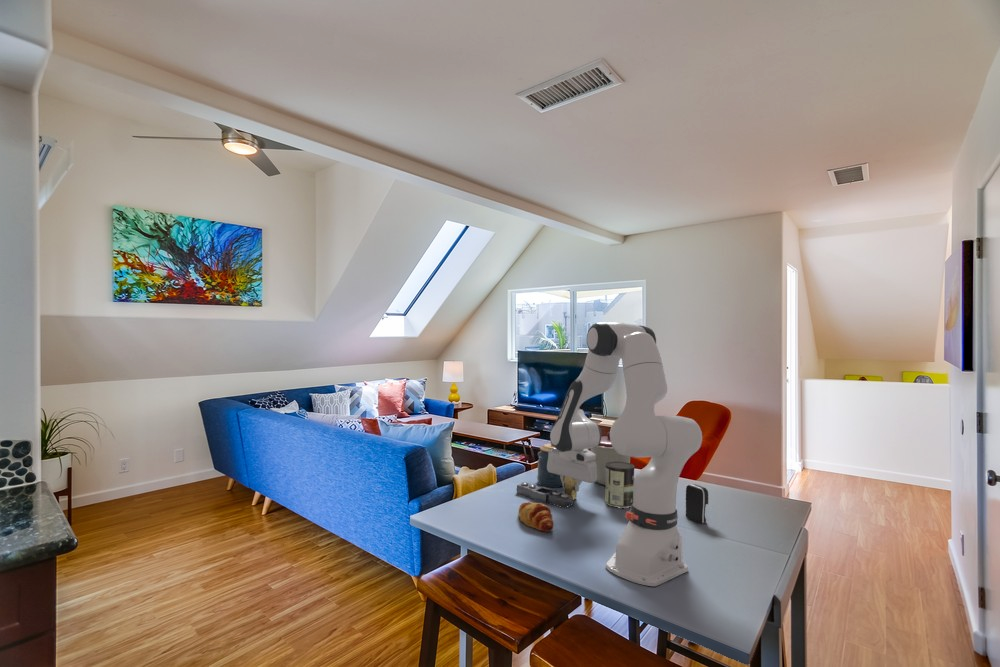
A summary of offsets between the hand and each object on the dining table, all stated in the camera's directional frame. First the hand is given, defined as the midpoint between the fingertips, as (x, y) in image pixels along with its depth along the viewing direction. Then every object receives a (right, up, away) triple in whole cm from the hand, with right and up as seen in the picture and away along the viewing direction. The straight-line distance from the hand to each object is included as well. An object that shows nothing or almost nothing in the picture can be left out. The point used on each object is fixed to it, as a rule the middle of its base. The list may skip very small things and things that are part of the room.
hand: (570, 489), depth 177 cm
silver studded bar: (-10, -3, 0) cm, 11 cm away
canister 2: (+19, -4, +21) cm, 29 cm away
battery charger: (+40, -5, -17) cm, 43 cm away
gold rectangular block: (0, -4, 0) cm, 4 cm away
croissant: (-14, -4, -23) cm, 27 cm away
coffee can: (+17, -4, -3) cm, 18 cm away
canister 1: (-4, -4, +19) cm, 20 cm away
